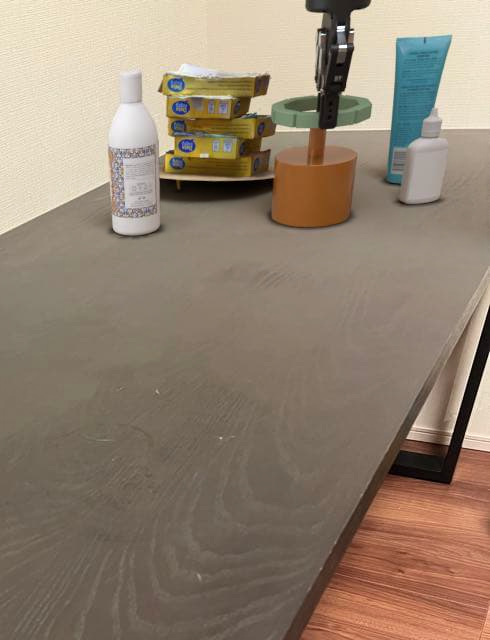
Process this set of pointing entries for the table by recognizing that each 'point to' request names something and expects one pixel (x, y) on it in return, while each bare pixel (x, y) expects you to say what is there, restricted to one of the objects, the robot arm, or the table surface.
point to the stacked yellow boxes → (215, 125)
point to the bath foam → (133, 162)
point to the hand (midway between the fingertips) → (325, 125)
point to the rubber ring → (294, 115)
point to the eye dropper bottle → (425, 164)
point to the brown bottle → (313, 183)
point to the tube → (413, 93)
